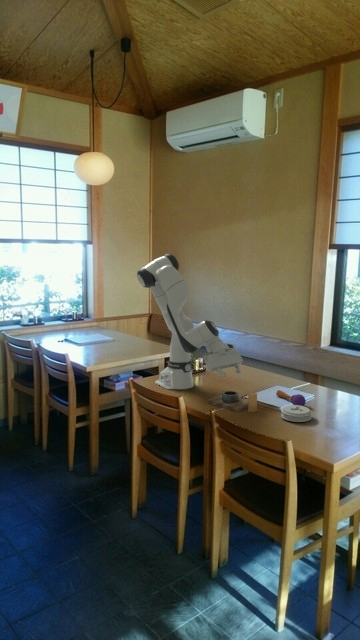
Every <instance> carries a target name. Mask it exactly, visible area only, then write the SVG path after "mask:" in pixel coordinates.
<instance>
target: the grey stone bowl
mask: <svg viewBox="0 0 360 640" xmlns="http://www.w3.org/2000/svg"><path fill="white" fill-rule="evenodd" d="M221 396H222V401H223V402H226V403H236V402H238V401H239V397H240V394H239V392H238V391H235V390H225V391H222V393H221Z"/></svg>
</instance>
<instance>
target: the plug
mask: <svg viewBox="0 0 360 640" xmlns="http://www.w3.org/2000/svg"><path fill="white" fill-rule="evenodd" d="M247 394H248V395H247V397H248V398H247V399H248V408H247V412H249V413H254V414H255V413H257V412H258V393H256V392H248V393H247Z"/></svg>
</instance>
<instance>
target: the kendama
mask: <svg viewBox="0 0 360 640" xmlns="http://www.w3.org/2000/svg"><path fill="white" fill-rule="evenodd" d="M275 393H276V396H277V395H278V396H280V397H279V398H282V399H283V398H284V399H288V400H289V399H290V402H291V403H292V405H299V406H304V407H305V405H306V402H307V401H306V398H305V396H304V395H303V394H300V393H299V394H293V395H290V394H287V393H286V392H284V391H282V390H280V389H279V390H277V391H276V392H275ZM278 396H277V397H278Z"/></svg>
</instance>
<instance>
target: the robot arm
mask: <svg viewBox="0 0 360 640" xmlns="http://www.w3.org/2000/svg"><path fill="white" fill-rule="evenodd" d="M179 263H180V262H179V261H178V259H177V258H176V256H175V255H174V254H172V253H166V254H163V256H160V257H157V258H155V259H153V260H152V261H151V262H149V263H148V264H146V265H144V266H142V267H141V268H139V270H137V273H136V277H137V280H138V282H139V284H140V285H141V286H142V287H143V288H147V289H148V288H149V289H150V291H151V293H152V295H153V298H154V300H155V302H156V304H157V306H158V308H159V309H160V312H161V314H162V316H163V319H164V321H165V324H166V325H167V328H168V330H169V331H170V332H171V338H170V345H169V360H167V361H166V364H167V367H165V368H164V369H162V370H161V371H160V373H159V376H158V377H159V378H158V379H157V380H155V381H154V384H155V385H157V386H159V385H160V387H161V388H164V389H165V390H187V389H188V390H189V389H191V388H193V387H194V386H195V385H194V383H195V382H194V380H193V379H194V378H193V372H192V371H193V370H192V359H191V354H194V353H196V351H197V350H199V349H200V348H202V347H203V346H204V347H205V348H206V352H204V353H203V355H202V358H203V360H204V363H205V365H206V368H207V370H208V371H210V372H214V371H216V372H217V374H219V375H220V376H221V377H222V378H225V377H226V376H227V373H226V372H225V371H223V369H224V370H225V369H229V368H232V367H234V368H235V371H234V372H235V373H236V375H238V374H241V369H240V365H241V364H242V363H243V362H244V361H243V357H242V356H241V354H240V353H239V351H238V350H237V349H236V347H235V345H234V344H231V343H227V342H224V341H223V340H222V339H221V337H220V336H219V333H220V332H219V330H218V328H217V326H216V325H215V324H214V322H213V321H211V320H207V319H206V320H203V321H201V322H199V323H198V324H196V325H195V326H194V323H193V321H192V319H191V318H190V317H189V316H187V315H185V313H184V310H183V307H184V306H185V304H186V303H187V301H188V299H189V297H190V294H191V293H190V290H191V289H190V288H189V285H188V283H187V282H186V280H185V278H184V277H183V276H182V275H181V274H180V272H179V268H180V264H179Z"/></svg>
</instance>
